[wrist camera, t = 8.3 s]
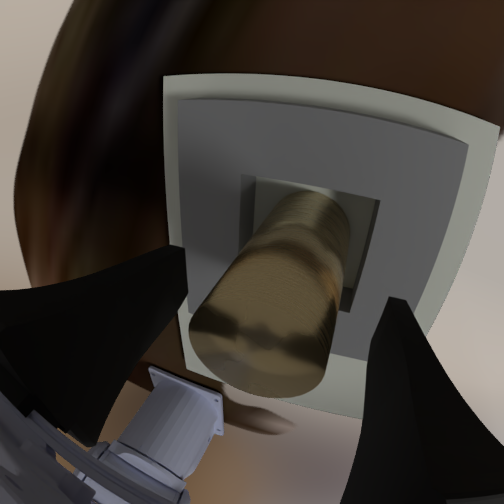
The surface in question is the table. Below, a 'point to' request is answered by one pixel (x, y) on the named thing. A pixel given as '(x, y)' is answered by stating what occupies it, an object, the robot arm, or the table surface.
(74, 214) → the table surface
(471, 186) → the socket plate
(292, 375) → the brass rounded knob
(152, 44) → the table surface
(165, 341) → the table surface
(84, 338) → the robot arm
